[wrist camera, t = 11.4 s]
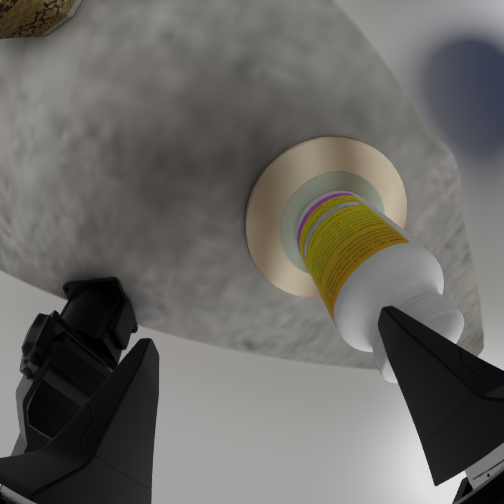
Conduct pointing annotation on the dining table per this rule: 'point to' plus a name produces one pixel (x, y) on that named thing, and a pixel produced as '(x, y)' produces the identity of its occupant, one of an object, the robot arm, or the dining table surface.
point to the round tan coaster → (307, 190)
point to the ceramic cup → (34, 16)
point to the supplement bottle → (371, 272)
